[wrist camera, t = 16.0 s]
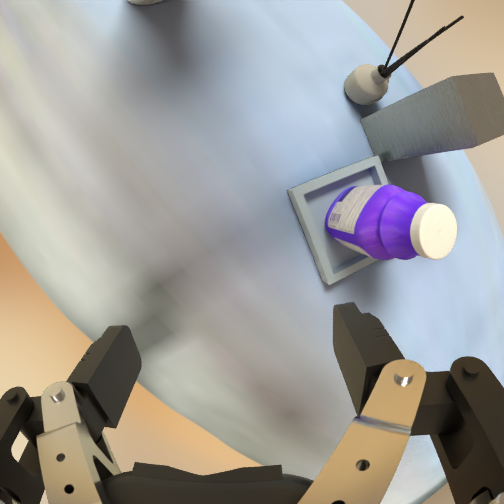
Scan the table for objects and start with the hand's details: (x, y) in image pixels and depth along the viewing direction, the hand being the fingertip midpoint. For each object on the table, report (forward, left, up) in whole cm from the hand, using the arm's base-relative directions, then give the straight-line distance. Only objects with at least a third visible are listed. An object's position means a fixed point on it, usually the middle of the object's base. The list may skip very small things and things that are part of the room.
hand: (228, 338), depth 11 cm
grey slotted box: (-5, +26, -24) cm, 36 cm away
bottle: (+3, +15, -24) cm, 28 cm away
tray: (+3, +15, -24) cm, 29 cm away
